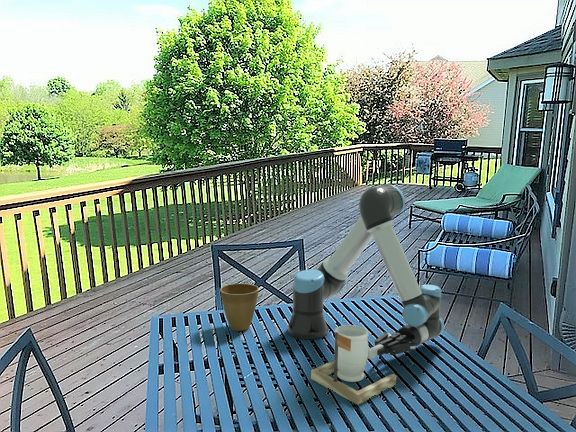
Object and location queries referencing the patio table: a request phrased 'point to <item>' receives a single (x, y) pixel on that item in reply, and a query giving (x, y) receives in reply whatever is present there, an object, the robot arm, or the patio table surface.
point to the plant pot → (239, 304)
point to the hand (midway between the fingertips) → (368, 354)
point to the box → (347, 392)
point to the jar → (353, 353)
